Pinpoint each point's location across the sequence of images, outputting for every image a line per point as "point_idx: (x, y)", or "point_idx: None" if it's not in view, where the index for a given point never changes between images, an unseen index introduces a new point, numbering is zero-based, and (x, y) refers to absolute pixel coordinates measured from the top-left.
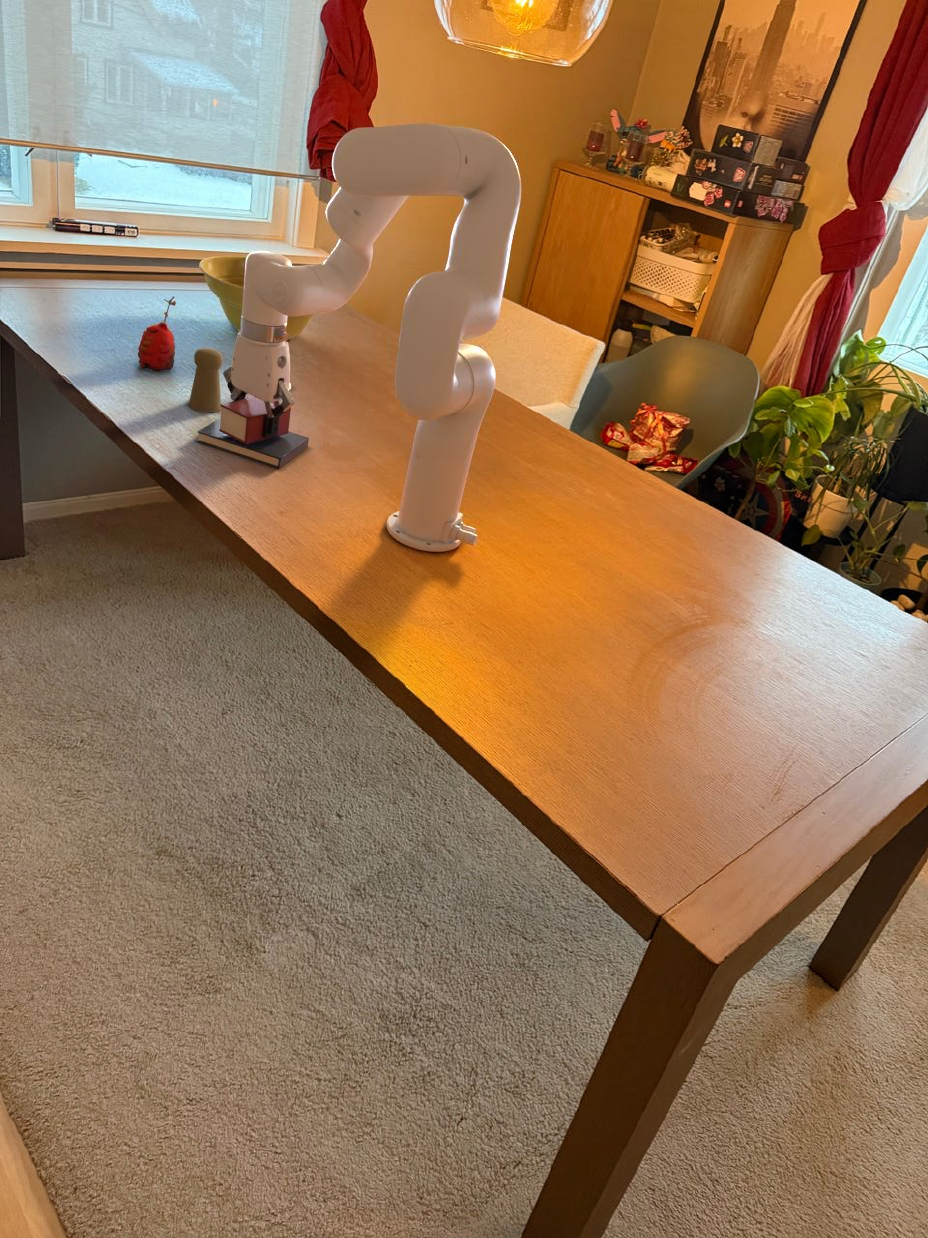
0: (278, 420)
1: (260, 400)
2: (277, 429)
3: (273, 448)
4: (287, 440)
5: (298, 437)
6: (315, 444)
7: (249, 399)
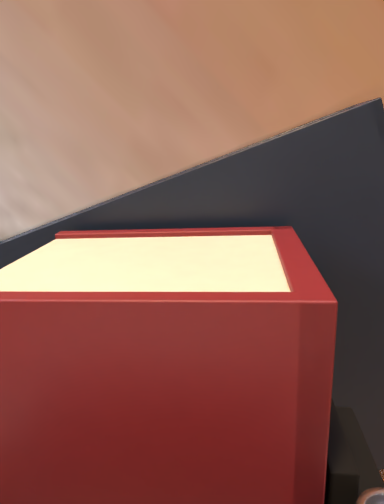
0: (381, 482)
1: (52, 432)
2: (355, 421)
3: (357, 402)
4: (327, 264)
5: (334, 165)
6: (348, 8)
7: (8, 490)
